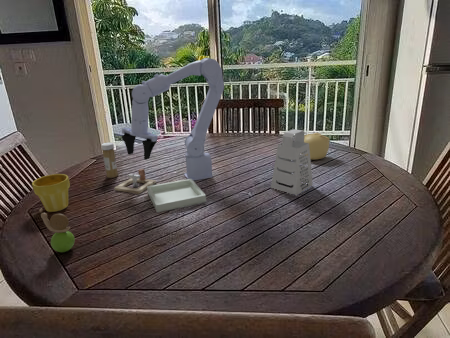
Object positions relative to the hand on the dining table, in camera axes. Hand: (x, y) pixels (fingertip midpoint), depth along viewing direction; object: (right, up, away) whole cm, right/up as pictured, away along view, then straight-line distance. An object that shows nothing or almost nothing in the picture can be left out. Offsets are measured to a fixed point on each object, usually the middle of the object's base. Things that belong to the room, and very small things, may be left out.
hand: (138, 156), depth 122 cm
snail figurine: (-10, -25, -37) cm, 46 cm away
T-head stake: (-1, -11, 0) cm, 11 cm away
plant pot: (-23, -17, -14) cm, 32 cm away
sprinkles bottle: (-13, -8, +11) cm, 19 cm away
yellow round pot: (+70, 0, +24) cm, 74 cm away
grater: (+55, -11, -5) cm, 56 cm away
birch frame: (-1, -11, 0) cm, 11 cm away
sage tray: (+15, -14, -10) cm, 23 cm away
